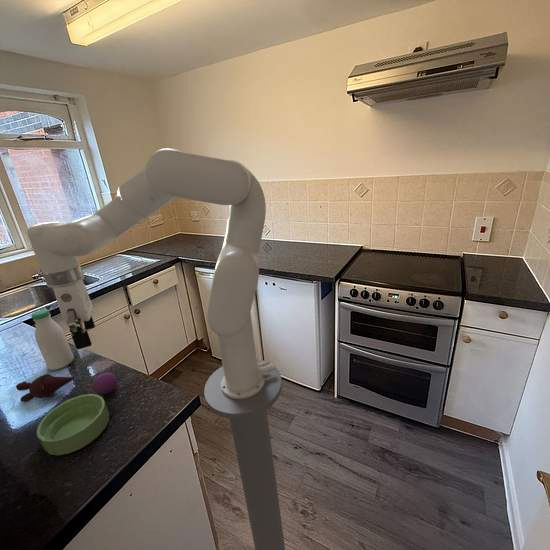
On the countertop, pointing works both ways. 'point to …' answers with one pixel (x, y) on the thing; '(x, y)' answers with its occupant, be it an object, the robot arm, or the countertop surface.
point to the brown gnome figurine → (42, 386)
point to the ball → (105, 383)
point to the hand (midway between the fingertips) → (86, 337)
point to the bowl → (73, 424)
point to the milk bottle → (51, 341)
